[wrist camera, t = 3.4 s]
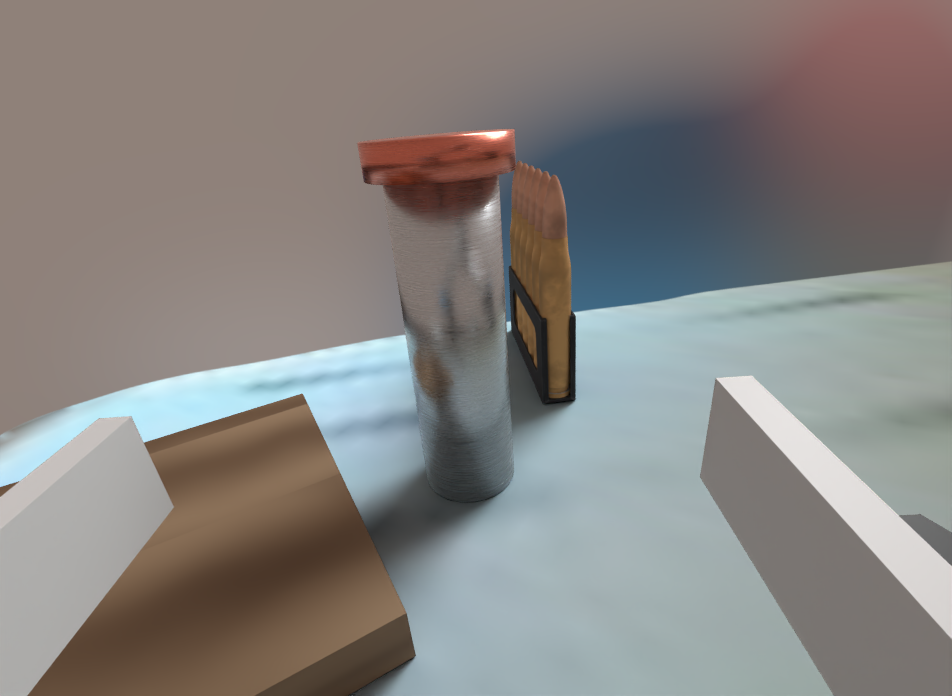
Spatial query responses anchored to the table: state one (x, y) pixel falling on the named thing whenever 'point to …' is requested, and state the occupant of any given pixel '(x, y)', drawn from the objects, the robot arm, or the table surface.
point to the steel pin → (452, 298)
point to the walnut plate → (243, 576)
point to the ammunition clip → (542, 283)
